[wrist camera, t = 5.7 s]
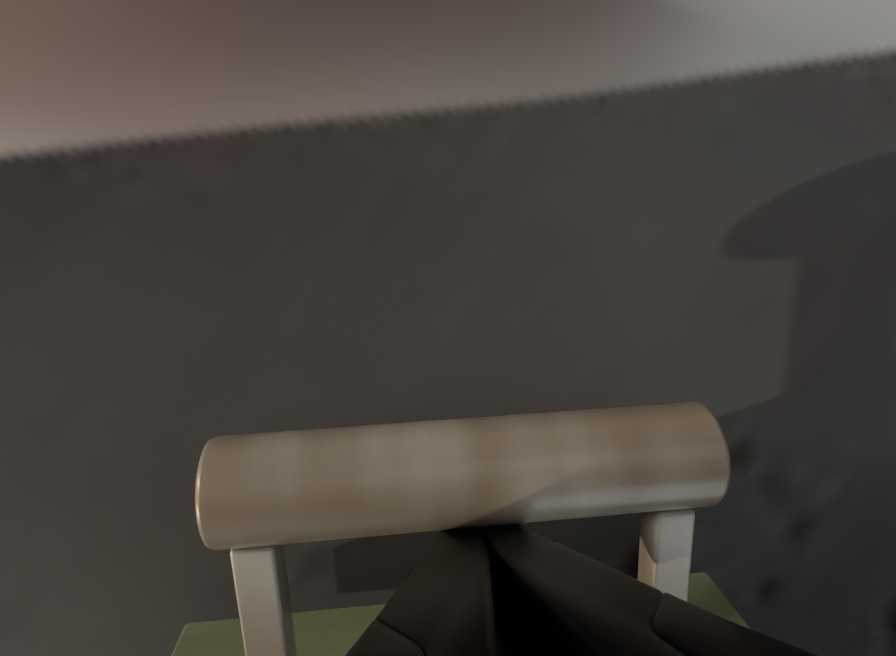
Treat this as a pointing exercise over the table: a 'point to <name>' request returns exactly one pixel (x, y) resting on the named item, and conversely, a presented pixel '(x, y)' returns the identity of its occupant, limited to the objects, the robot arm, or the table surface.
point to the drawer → (446, 502)
